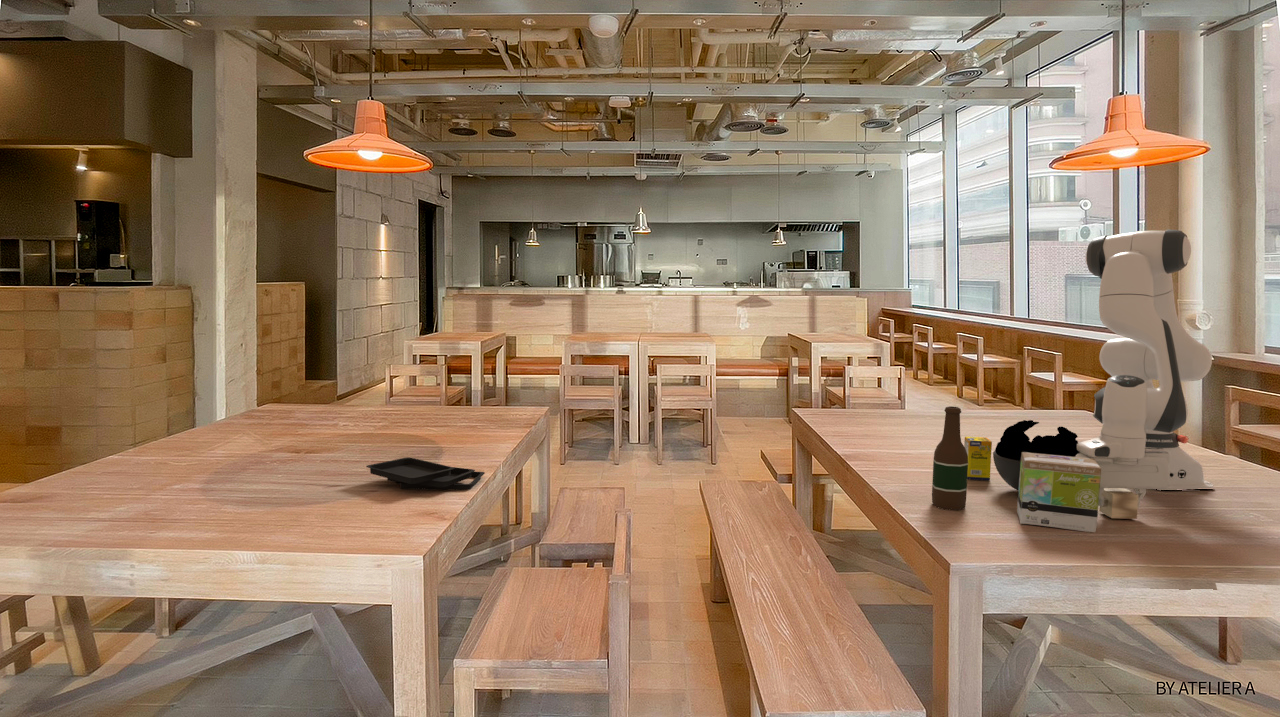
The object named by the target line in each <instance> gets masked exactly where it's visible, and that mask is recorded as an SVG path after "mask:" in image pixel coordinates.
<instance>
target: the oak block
mask: <svg viewBox="0 0 1280 717" xmlns="http://www.w3.org/2000/svg"><path fill="white" fill-rule="evenodd" d="M1101 493H1102V495H1103V497H1104V498H1106V499H1108V503H1107V504H1108V506H1107V507H1100V506H1098V512H1100V513H1102V514H1104V515H1105V516H1107V517H1109V518H1111V519H1131V520H1134V519H1135V520H1136V519H1137V518H1138V495H1137V494H1136V493H1135V492H1133V491H1131V490H1130V489H1128V488H1104V492H1101Z"/></svg>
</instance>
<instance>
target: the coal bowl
mask: <svg viewBox="0 0 1280 717" xmlns="http://www.w3.org/2000/svg"><path fill="white" fill-rule="evenodd" d="M1038 424H1040V422H1039V421H1034V420H1031V419H1028V420H1026V419H1023V420H1021V421H1017V422H1016V423H1014V424H1013V425H1010V426H1008V427H1006V429H1004V431H1003V433H1002V436H1001V437H1000V441H999V442H997V444H996V446H995V449H994V450H993V452H992V458H993V462H994V466H995V469H996V471H997V473H998V474H999V476H1000V477H1001V478H1002V480H1003V481H1004V482H1005V483H1006V484H1007V485H1009V486H1010V487H1011V488H1013V489H1014V490H1016V491H1017V492H1018V491H1019V477H1020V465H1021V454H1022V452H1027V453H1037V454H1048V455H1059V456H1069V457H1075V456H1076V455H1077V454H1078V453H1081V452H1079V451H1078V450H1077V444H1078V443H1079V441H1078V440H1077V439H1078V438H1079V436H1078V435H1077V433H1076V432H1072V430H1069V429H1068V428H1067V427H1064V426H1058V427H1057V430H1056V431H1057V432H1058V433H1056V434H1055V435H1049V434H1048V435H1044V436H1042V435H1039V434H1037V435H1036V436H1034V437H1033V438H1032V440H1031V438H1030V437H1029V436H1028V435H1027V434H1026V431H1028V430H1029V429H1032V428H1033V427H1034V426H1035V425H1038ZM1030 440H1031V441H1030Z"/></svg>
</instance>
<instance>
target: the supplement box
mask: <svg viewBox="0 0 1280 717" xmlns="http://www.w3.org/2000/svg"><path fill="white" fill-rule="evenodd" d="M963 445H964V447H965V449H966V452H967V455H968V473H967V480H969V479H973V480H974V481H986V480H989V481H991V469H992V468H991V466H992V465H991V463H992V447H993V441H992V440H990V439H989V438H988V437H983V436H982V437H981V436H964V444H963Z"/></svg>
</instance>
